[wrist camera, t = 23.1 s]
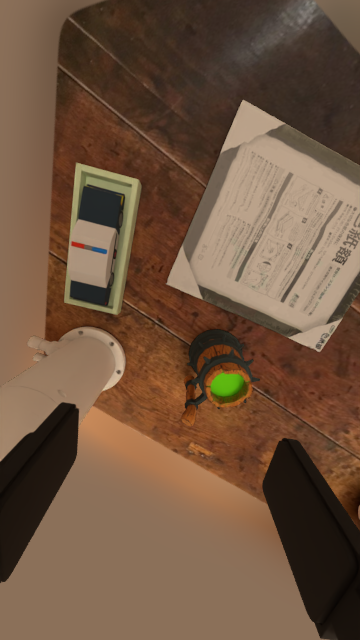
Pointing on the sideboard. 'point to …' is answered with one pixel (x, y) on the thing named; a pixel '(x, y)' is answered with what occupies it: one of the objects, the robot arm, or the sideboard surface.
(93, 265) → the toy car
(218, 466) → the sideboard surface
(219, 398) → the mug
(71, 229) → the shallow tray
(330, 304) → the picture frame
